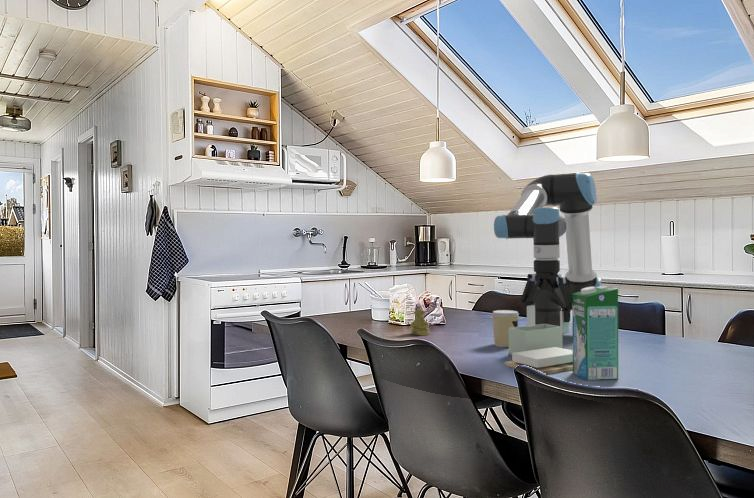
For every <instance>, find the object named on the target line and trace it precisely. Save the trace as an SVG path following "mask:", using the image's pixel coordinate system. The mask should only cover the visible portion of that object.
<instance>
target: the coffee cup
mask: <svg viewBox="0 0 754 498" xmlns="http://www.w3.org/2000/svg"><path fill="white" fill-rule="evenodd" d="M491 315H492V326H493V340H494V342H493V343H494V345H495V346H496V347H500V348H509V328H512V327H519V315H520V313H519V312H518V311H517V310H512V309H511V310H510V309H498V310H493V311H492V314H491Z"/></svg>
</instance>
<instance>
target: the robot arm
mask: <svg viewBox="0 0 754 498" xmlns="http://www.w3.org/2000/svg"><path fill="white" fill-rule="evenodd" d="M597 198H598V197H597V188H596V183H595V180H594V178H593V175H592V174H590V173H589V172H573V173H559V174H558V173H557V174H547V175H543V176H539V177H538V178H536V179H534V180H532V181H531V182H529V183H528V184H527V185H526V186H525V187H523V189H522V190H521V193H520V198H519V199H518V201H517V202H516V203H515V205H514V206H513V207H512V208H511V209H510V211H509V212H508V214H507V215H506V214H503V215H496V217H494V221H493V232H494V235H495V237H496V238H497V239H506V240H509V239H532V240H533V258H534V261H533V271H534V273H528V274H527V275H526V277H527V280H526V283H525V286H524V288H523V292H522V294H521V297H520V303H523V304H524V305H525V315H526V326H527V327H532V326H535V325H538V324H549V325H555V326H560V333H561V334H562V335H563V334H569V333H570V322H571V311H572V294H573V293H577V292H580V291H581V289H583V288H586V287H592V286H594V287H598V286H601V285H602V278H601V277H598V275H597V272H596V271H595V270H593V263H592V262H593V261H592V247H591V233H590V217H589V216H590V215H589V213H590V212H591V211H593V210H592V209H593V205H596V203H597ZM550 206H551V207H550ZM554 206H555V207H554ZM556 206H557V207H556ZM558 207H559V208H558ZM560 213H562V214H563V216H562V215H560ZM564 234H565V238H566V239H565V240H566V241H565V242H566V251H567V264H568V271H567V272H566V273H565V274H564V276H562V273H560V271H561V267H560V265H561V264H560V263H561V261H560V260H559V258H560V257H561V256H560V254H561V253H560V252H561V251H560V249H561V248H560V238H561V237H562V236H563V235H564Z"/></svg>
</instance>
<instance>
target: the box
mask: <svg viewBox="0 0 754 498" xmlns="http://www.w3.org/2000/svg"><path fill="white" fill-rule="evenodd" d="M563 338H564V336H563V334H561V333H560V326H555V325H549V324H538V325H535V326H532V327H527V325H522V326H518V327H512V328H509V347H508V356H511V357H512V353H516V352H523V351H530V350H537V349H544V348H551V347H559V348H563V346H564V345H563V343H564V342H563ZM563 349H564V348H563Z"/></svg>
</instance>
